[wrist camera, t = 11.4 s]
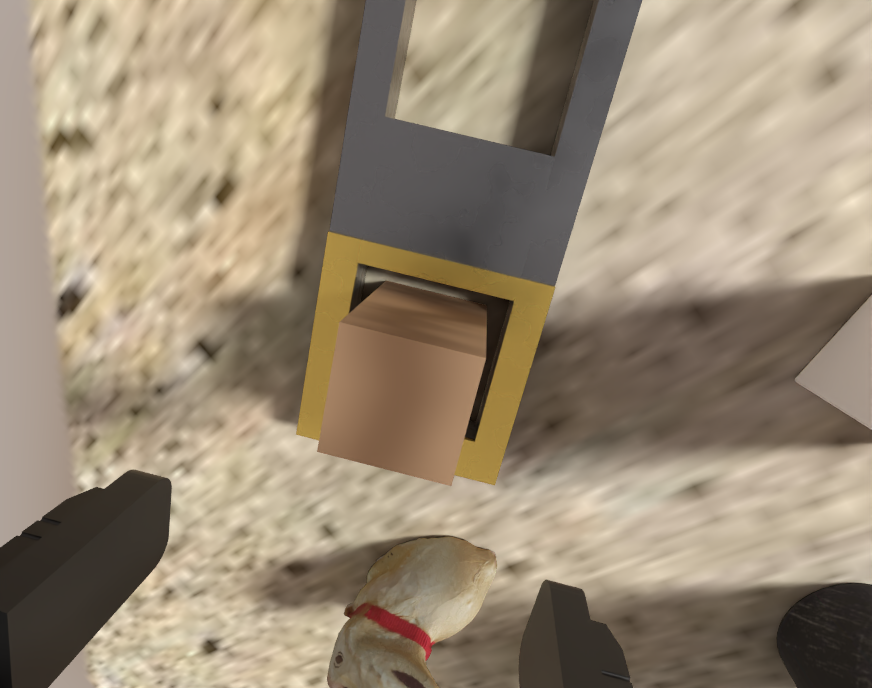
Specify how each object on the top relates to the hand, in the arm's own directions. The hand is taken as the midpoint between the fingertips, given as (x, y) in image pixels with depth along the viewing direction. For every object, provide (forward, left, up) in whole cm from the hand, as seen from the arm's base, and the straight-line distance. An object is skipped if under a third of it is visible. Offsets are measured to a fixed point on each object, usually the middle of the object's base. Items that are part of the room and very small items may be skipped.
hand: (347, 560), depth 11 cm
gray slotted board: (0, -7, -15) cm, 17 cm away
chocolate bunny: (-3, +13, -16) cm, 21 cm away
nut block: (0, 0, -15) cm, 15 cm away
